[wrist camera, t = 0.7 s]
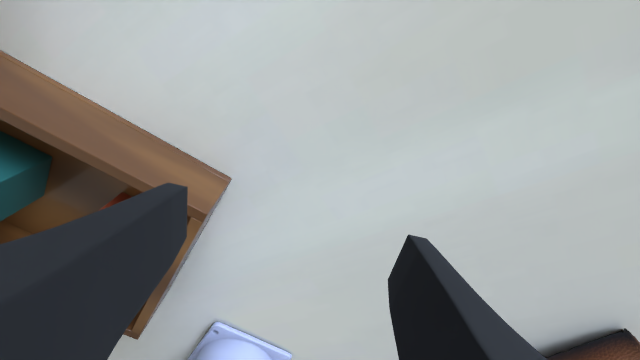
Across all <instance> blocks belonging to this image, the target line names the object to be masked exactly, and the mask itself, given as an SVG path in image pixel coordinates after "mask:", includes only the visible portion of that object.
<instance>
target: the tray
mask: <svg viewBox="0 0 640 360" xmlns="http://www.w3.org/2000/svg"><path fill="white" fill-rule="evenodd" d="M0 131H2V132H4V133H6V134H8V135H10V136H12V137H14V138H16V139H18V140H20V141H22V142H24V143H26V144H28V145H30V146H32V147H34V148H36V149H38V150H40V151H42V152H44V153H46V154H48V155H50V156H52V161H51V166H50V170H49V175H48V179H47V184H46V188H45V193H44V196H42V197H41V198H39V199H37V200H36V201H34V202H32V203H31V204H29V205H27V206H26V207H24V208H22V209H20V210H19V211H17V212H15V213H14V214H12V215H10V216H9V217H7V218H5V219H4V220H2V221H0V244H3V243H6V242H10V241H13V240H16V239H20V238H23V237H26V236H29V235H33V234H36V233H39V232H42V231H45V230H48V229H51V228H54V227H57V226H60V225H62V224H65V223H68V222H70V221H73V220H76V219H78V218H81V217H84V216H86V215H89V214H92V213H94V212H97V211H99V210H100V209H101V208H103V207H104V206H105V205H106V204H108V203H109V202H110V201H111V200H113V199H114V198H115V197H116V196H118V195H119V194H120V193H121V192H123V193H125V194H127V195H129V196H131V197H133V196H136V195H138V194H140V193H143V192H145V191H148V190H150V189H152V188H155V187H157V186H160V185H162V184H165V183H173V184H178V185H182V186H187V187H188V195H187V238H186V240H185V242H184V244H183V246H182V247H181V249H180V251H179V253H178V255H177V257H176V259H175V260H174V262H173V264H172V266H171V267H170V268H169V270H168V271H167V273H166V274H165V276H164V277H163V278H162V280H161V281H160V283H159V284H158V286H157V287H156V288H155V290H154V291H153V292H152V294H151V295H150V297H149V298H148V299H147V301H146V302H145V304H144V305H143V306H142V308H141V309H140V311H139V312H138V313H137V315H136V316H135V317H134V319H133V320H132V322H131V323H130V324H129V326H128V327H127V329H126V330H125V332H124V333H123V334H124V335H127V336H129V337H132V338H134V339H137V340H138V339H139V337H140V335H141V334H142V332H143V331H144V329H145V327H146V326H147V324H148V323H149V321H150V319H151V318H152V316H153V315H154V313H155V312H156V310H157V308H158V307H159V305H160V304H161V302H162V300H163V299H164V297H165V296H166V294H167V292H168V291H169V289H170V287H171V285H172V284H173V282H174V280H175V278H176V277H177V275H178V273H179V271H180V269H181V268H182V266H183V264H184V262H185V261H186V259H187V257H188V255H189V254H190V252H191V250H192V248H193V247H194V245H195V243H196V241H197V239H198V238H199V236H200V234H201V232H202V231H203V229H204V227H205V225H206V224H207V222H208V220H209V218H210V217H211V215H212V213H213V211H214V209H215V208H216V206H217V204H218V202H219V201H220V199H221V197H222V195H223V194H224V192H225V190H226V188H227V187H228V185H229V183H230V181H231V178H230V177H228V176H226V175H224V174H223V173H221V172H219V171H217V170H215V169H214V168H212V167H210V166H208V165H206V164H205V163H203V162H201V161H199V160H197V159H196V158H194V157H192V156H190V155H188V154H186V153H185V152H183V151H181V150H179V149H177V148H176V147H174V146H172V145H170V144H168V143H167V142H165V141H163V140H161V139H159V138H158V137H156V136H154V135H152V134H150V133H149V132H147V131H145V130H143V129H141V128H140V127H138V126H136V125H134V124H132V123H131V122H129V121H127V120H125V119H123V118H121V117H120V116H118V115H116V114H114V113H112V112H111V111H109V110H107V109H105V108H103V107H102V106H100V105H98V104H96V103H94V102H93V101H91V100H89V99H87V98H85V97H84V96H82V95H80V94H78V93H76V92H75V91H73V90H71V89H69V88H67V87H66V86H64V85H62V84H60V83H58V82H56V81H55V80H53V79H51V78H49V77H47V76H46V75H44V74H42V73H40V72H38V71H37V70H35V69H33V68H31V67H29V66H28V65H26V64H24V63H22V62H20V61H19V60H17V59H15V58H13V57H11V56H10V55H8V54H6V53H4V52H2V51H1V50H0Z"/></svg>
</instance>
